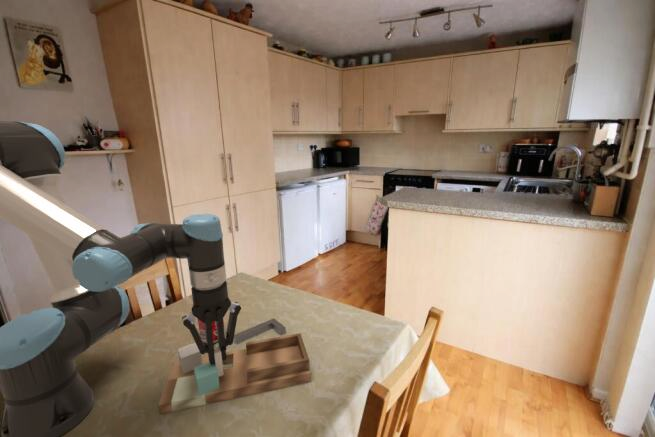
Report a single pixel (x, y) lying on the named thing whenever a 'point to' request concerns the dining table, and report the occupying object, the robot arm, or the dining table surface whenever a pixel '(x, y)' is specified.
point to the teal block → (206, 378)
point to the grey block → (189, 357)
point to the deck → (242, 373)
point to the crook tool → (260, 330)
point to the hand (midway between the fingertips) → (219, 372)
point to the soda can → (214, 331)
